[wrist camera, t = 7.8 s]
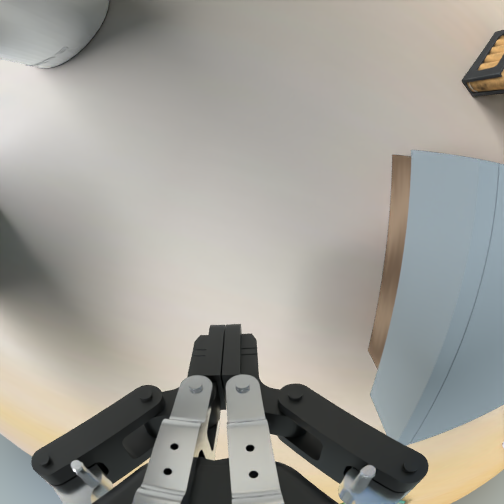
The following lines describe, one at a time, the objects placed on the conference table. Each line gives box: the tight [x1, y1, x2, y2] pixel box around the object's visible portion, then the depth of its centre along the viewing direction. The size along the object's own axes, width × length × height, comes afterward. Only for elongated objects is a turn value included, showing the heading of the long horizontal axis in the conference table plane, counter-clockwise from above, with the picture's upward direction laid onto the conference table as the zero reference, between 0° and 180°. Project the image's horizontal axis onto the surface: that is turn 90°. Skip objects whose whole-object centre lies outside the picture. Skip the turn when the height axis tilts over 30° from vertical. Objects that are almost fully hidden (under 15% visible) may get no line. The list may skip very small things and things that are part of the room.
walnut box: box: [368, 155, 411, 369], centre depth 18 cm, size 18×18×10 cm
